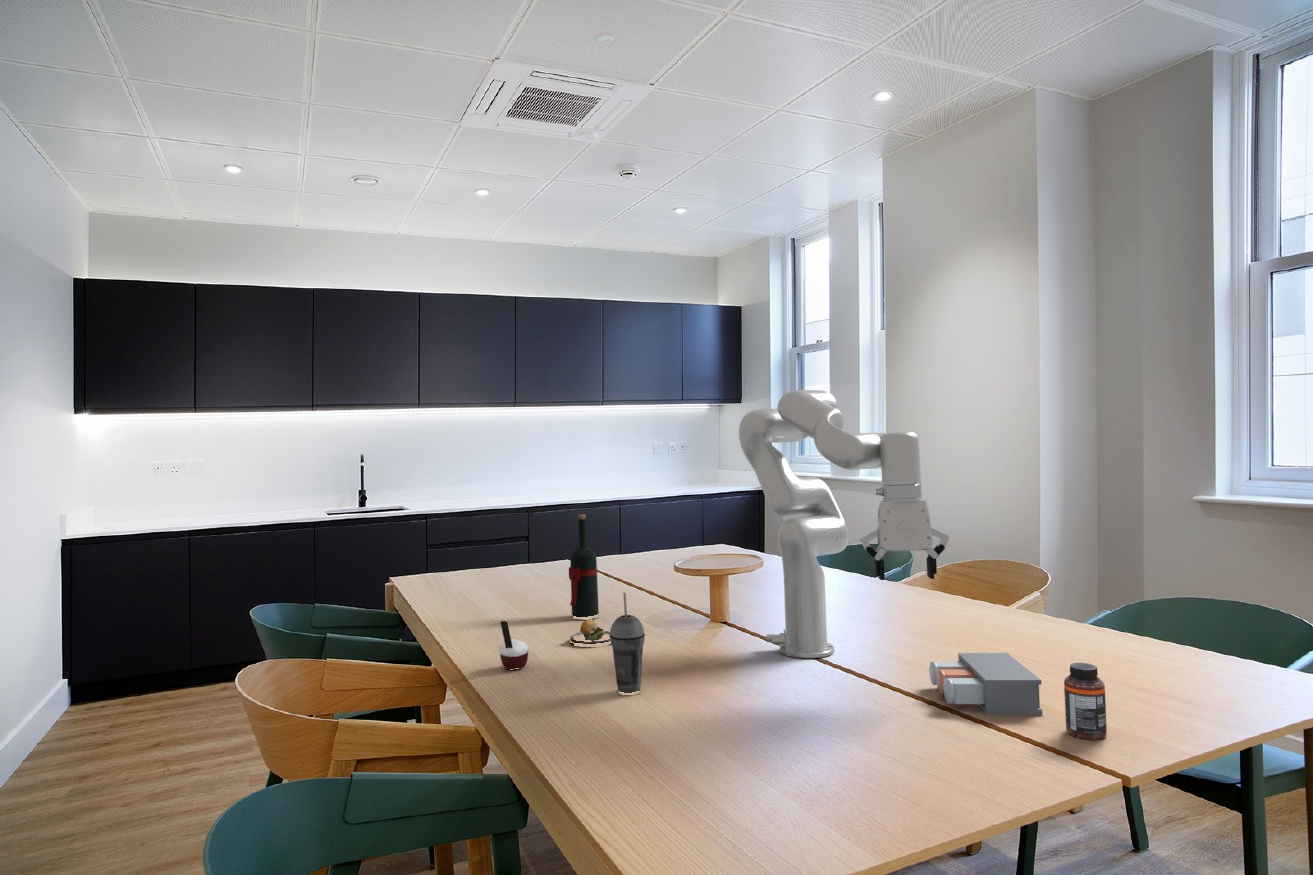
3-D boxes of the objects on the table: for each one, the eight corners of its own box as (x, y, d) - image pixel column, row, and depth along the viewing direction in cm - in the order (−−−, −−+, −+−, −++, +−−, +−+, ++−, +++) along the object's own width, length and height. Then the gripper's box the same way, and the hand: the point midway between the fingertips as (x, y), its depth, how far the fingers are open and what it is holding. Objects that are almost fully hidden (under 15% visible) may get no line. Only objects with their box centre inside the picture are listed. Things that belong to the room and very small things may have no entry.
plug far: (935, 688, 154) (934, 665, 154) (929, 681, 158) (928, 659, 158) (983, 687, 153) (982, 665, 153) (976, 681, 157) (975, 658, 157)
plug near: (950, 707, 143) (949, 682, 143) (943, 699, 147) (943, 675, 147) (1002, 707, 142) (1001, 682, 142) (994, 699, 146) (993, 675, 146)
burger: (622, 645, 199) (621, 615, 199) (577, 651, 195) (576, 620, 195) (607, 635, 211) (607, 606, 211) (564, 640, 206) (563, 611, 206)
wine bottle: (561, 620, 228) (558, 516, 228) (582, 613, 237) (578, 513, 237) (583, 623, 224) (580, 517, 224) (604, 615, 233) (600, 513, 233)
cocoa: (518, 661, 186) (516, 610, 186) (537, 665, 182) (536, 613, 182) (488, 672, 178) (486, 618, 178) (507, 676, 175) (505, 621, 175)
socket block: (987, 715, 141) (986, 680, 141) (959, 684, 159) (958, 653, 159) (1042, 715, 140) (1041, 680, 140) (1008, 684, 158) (1006, 652, 158)
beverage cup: (615, 699, 156) (612, 598, 156) (607, 689, 163) (604, 591, 163) (651, 695, 158) (647, 595, 158) (642, 685, 165) (638, 589, 165)
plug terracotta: (942, 697, 148) (941, 673, 148) (936, 689, 152) (935, 666, 153) (992, 697, 147) (991, 673, 147) (985, 689, 152) (984, 666, 152)
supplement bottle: (1070, 725, 135) (1067, 658, 135) (1110, 732, 131) (1107, 663, 131) (1062, 736, 130) (1059, 667, 130) (1103, 744, 126) (1100, 672, 126)
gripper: (860, 496, 157) (865, 582, 157) (951, 492, 155) (955, 580, 155) (855, 494, 164) (859, 576, 164) (941, 490, 162) (946, 574, 162)
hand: (906, 578), depth 159 cm, fingers open, 9 cm apart
